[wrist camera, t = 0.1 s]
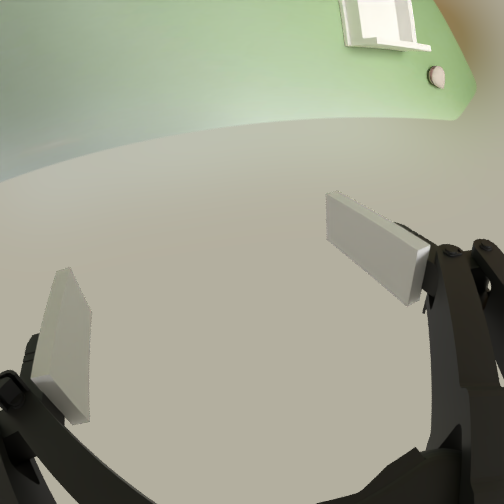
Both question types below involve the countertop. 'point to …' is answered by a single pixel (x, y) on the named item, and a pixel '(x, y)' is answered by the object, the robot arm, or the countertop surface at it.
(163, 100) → the countertop surface
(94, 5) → the countertop surface
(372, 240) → the robot arm
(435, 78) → the clam shell
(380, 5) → the pusher lane
